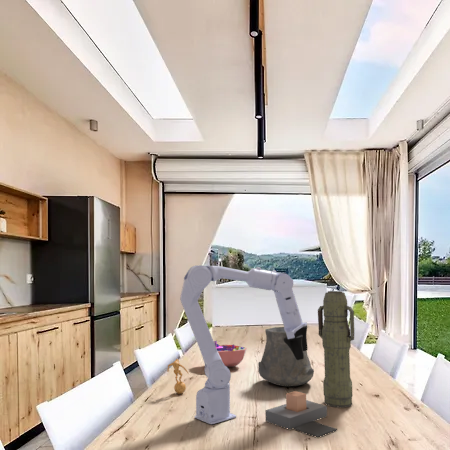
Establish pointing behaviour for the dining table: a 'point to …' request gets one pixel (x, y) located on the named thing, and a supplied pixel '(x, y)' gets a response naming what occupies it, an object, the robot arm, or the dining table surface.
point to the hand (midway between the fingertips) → (302, 354)
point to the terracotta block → (296, 401)
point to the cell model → (230, 354)
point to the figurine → (179, 386)
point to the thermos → (336, 348)
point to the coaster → (315, 429)
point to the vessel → (283, 361)
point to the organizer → (295, 415)
